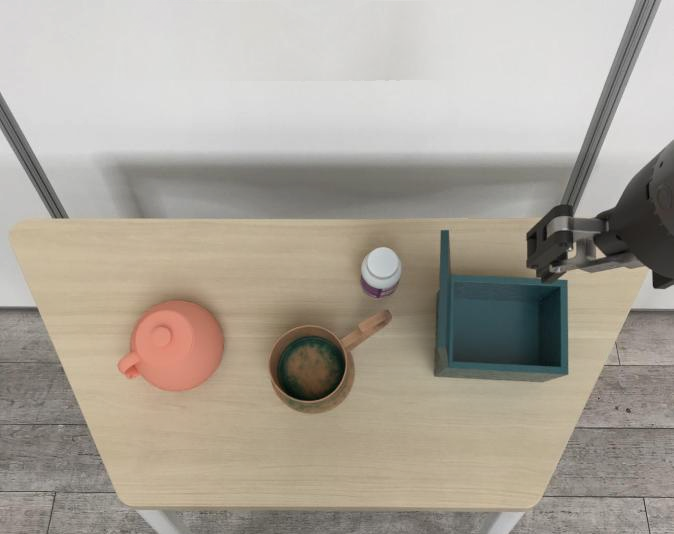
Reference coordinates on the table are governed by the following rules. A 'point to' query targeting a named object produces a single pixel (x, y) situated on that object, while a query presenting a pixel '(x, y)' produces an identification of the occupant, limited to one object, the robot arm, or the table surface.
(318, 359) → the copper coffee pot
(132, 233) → the table surface
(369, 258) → the pill bottle
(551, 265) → the robot arm
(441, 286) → the lid
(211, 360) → the sugar bowl
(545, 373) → the teal storage bin
